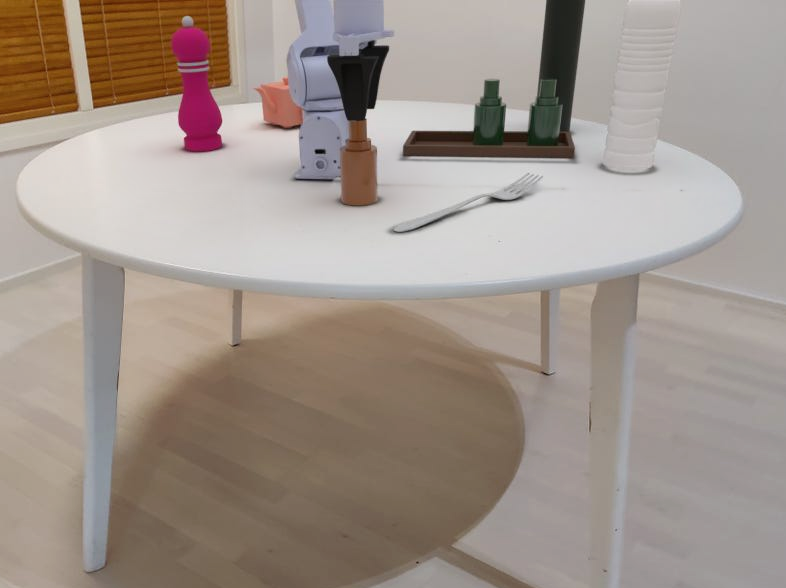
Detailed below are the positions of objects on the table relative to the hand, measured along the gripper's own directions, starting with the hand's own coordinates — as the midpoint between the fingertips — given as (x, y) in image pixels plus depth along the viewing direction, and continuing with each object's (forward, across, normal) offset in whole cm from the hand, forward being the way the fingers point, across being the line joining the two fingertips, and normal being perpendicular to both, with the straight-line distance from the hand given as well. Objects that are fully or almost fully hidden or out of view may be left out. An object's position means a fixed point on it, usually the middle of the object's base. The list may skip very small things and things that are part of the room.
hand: (361, 114), depth 86 cm
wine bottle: (+10, +38, -26) cm, 47 cm away
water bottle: (+10, +17, -35) cm, 40 cm away
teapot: (+10, +45, +21) cm, 51 cm away
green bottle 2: (+9, +24, -23) cm, 35 cm away
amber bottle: (+10, -1, 0) cm, 10 cm away
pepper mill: (+10, +26, +32) cm, 42 cm away
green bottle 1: (+9, +24, -15) cm, 30 cm away
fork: (+10, -4, -14) cm, 18 cm away
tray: (+10, +24, -15) cm, 30 cm away
